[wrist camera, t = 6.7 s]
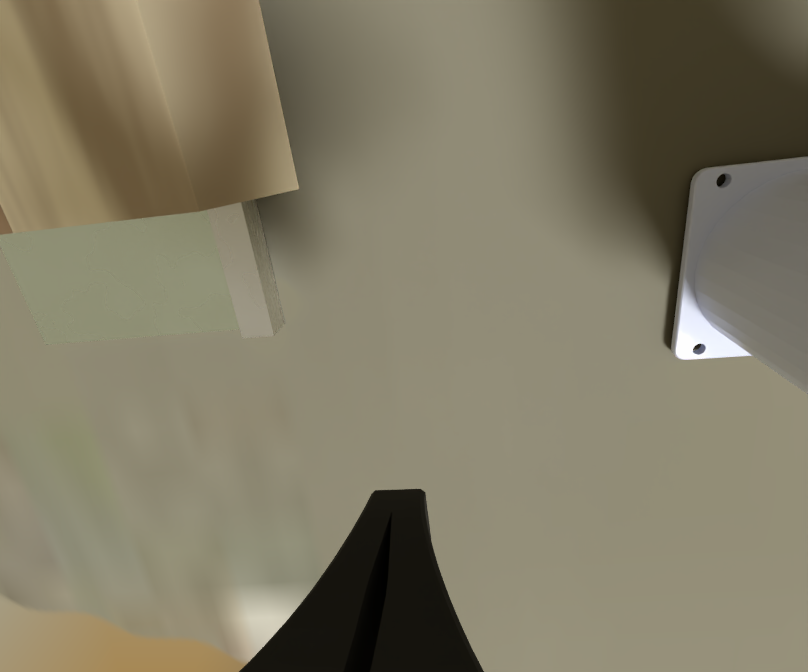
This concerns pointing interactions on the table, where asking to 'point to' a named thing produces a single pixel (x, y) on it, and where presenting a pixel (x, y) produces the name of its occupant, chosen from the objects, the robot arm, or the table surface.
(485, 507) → the table surface
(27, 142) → the wooden block
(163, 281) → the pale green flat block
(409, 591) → the robot arm
